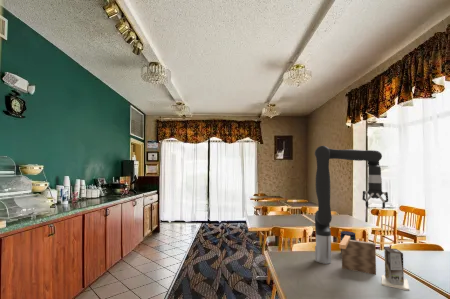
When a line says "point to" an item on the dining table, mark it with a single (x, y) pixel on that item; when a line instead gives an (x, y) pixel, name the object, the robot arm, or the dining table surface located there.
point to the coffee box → (394, 266)
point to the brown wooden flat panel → (359, 257)
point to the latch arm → (344, 242)
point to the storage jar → (347, 233)
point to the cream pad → (387, 283)
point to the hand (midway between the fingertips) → (375, 208)
